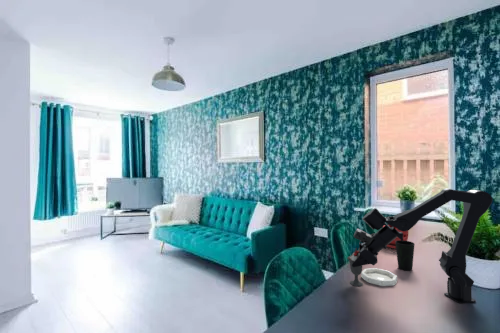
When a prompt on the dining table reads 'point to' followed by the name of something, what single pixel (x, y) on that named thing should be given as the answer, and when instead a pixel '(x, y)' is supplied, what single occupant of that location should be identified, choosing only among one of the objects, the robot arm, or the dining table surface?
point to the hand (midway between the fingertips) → (352, 263)
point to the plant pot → (392, 244)
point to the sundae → (355, 269)
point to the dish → (379, 277)
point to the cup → (405, 254)
